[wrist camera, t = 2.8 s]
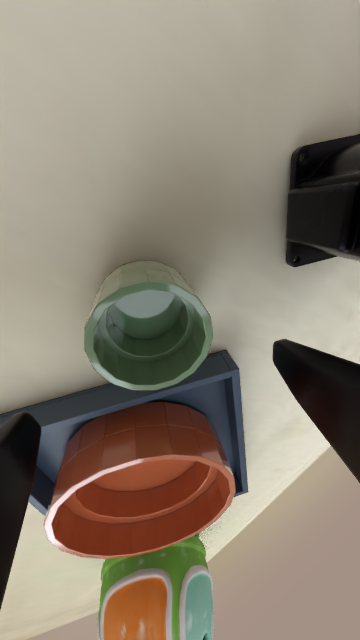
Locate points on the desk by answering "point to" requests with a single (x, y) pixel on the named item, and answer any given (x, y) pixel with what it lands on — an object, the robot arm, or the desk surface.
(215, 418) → the tray
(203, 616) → the turtle holder
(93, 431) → the terracotta bowl
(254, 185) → the desk surface
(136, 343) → the sage bowl
